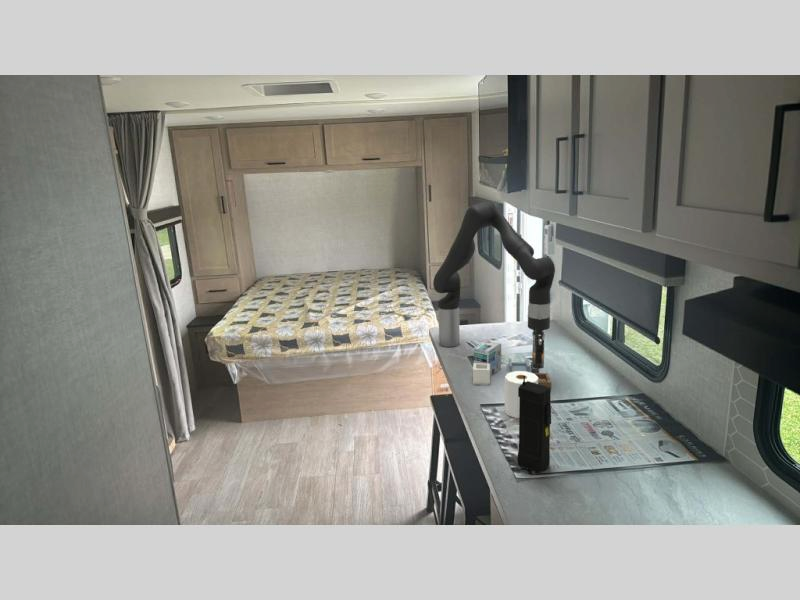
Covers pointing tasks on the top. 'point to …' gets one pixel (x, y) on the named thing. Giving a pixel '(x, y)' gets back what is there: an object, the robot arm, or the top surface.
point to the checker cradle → (521, 367)
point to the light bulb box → (489, 355)
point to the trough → (543, 379)
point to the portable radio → (534, 426)
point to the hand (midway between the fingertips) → (537, 360)
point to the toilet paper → (515, 390)
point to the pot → (481, 374)
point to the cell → (534, 365)
